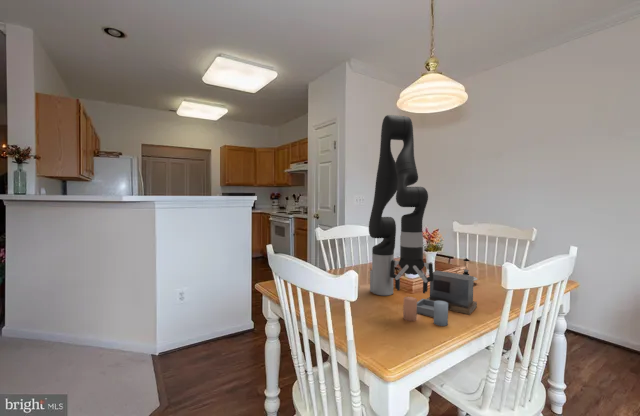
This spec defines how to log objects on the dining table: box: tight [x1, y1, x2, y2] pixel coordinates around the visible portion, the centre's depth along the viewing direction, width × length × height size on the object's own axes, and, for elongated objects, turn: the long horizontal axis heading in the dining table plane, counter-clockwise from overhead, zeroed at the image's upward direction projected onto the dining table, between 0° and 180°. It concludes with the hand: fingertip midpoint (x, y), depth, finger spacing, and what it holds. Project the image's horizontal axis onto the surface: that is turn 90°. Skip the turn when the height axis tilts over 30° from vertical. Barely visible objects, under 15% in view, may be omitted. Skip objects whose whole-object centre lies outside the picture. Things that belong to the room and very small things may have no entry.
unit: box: [426, 270, 478, 316], centre depth 119 cm, size 16×10×12 cm, turn 50°
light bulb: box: [462, 258, 478, 284], centre depth 149 cm, size 12×10×10 cm
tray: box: [417, 298, 434, 318], centre depth 113 cm, size 10×10×2 cm
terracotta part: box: [402, 296, 418, 322], centre depth 107 cm, size 4×4×7 cm
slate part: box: [433, 300, 449, 327], centre depth 103 cm, size 4×4×7 cm
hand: (411, 291), depth 106 cm, fingers open, 8 cm apart
